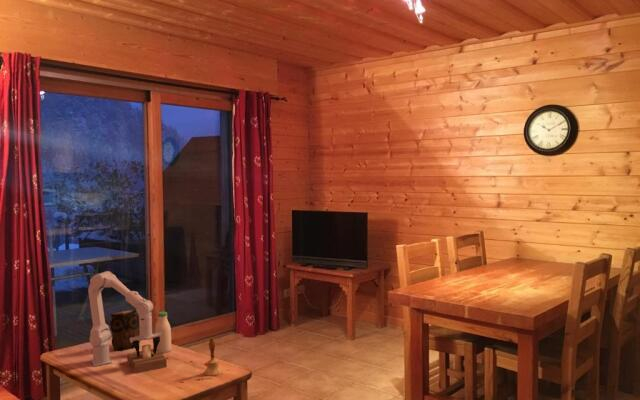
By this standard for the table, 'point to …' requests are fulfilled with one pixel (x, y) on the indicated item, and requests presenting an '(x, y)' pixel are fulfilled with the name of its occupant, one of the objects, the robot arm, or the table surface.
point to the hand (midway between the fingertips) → (146, 354)
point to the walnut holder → (146, 361)
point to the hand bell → (212, 362)
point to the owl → (124, 329)
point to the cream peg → (146, 351)
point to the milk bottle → (163, 333)
